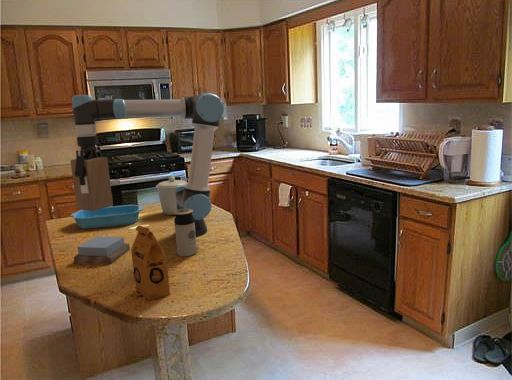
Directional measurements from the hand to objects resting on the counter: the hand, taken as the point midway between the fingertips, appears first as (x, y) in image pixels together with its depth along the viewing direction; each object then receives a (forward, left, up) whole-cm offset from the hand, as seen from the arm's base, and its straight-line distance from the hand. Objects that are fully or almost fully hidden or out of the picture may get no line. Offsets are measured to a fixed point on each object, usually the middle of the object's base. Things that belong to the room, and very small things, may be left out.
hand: (93, 189), depth 169 cm
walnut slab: (0, 0, -29) cm, 29 cm away
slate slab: (0, 0, -25) cm, 25 cm away
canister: (-7, -68, -28) cm, 74 cm away
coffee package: (-35, +32, -28) cm, 55 cm away
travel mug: (-35, -4, -28) cm, 45 cm away
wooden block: (0, 0, -8) cm, 8 cm away
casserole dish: (+23, -49, -29) cm, 62 cm away
